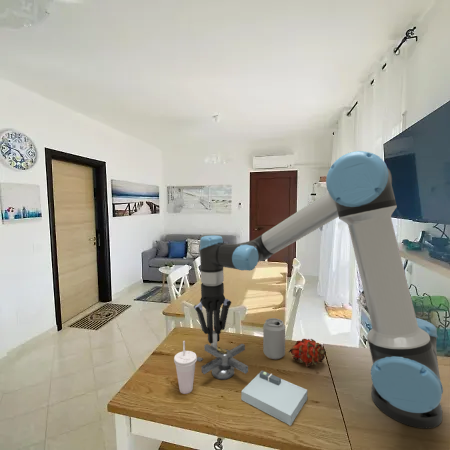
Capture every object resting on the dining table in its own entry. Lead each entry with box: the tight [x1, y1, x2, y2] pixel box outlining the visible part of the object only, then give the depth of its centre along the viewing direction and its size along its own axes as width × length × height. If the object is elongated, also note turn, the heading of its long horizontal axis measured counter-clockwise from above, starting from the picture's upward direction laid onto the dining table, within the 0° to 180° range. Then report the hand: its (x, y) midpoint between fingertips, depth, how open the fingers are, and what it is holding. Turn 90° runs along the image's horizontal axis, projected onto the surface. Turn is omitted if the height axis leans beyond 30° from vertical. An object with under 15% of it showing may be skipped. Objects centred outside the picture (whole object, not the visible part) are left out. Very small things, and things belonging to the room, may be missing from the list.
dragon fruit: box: [288, 338, 327, 367], centre depth 88 cm, size 8×8×12 cm
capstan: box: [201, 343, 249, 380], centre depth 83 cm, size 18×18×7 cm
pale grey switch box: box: [240, 370, 308, 427], centre depth 71 cm, size 14×11×4 cm
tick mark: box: [196, 356, 204, 362], centre depth 90 cm, size 2×2×1 cm
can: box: [262, 317, 286, 360], centre depth 92 cm, size 8×8×12 cm
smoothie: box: [173, 340, 198, 395], centre depth 75 cm, size 6×6×14 cm
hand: (214, 351), depth 89 cm, fingers closed
